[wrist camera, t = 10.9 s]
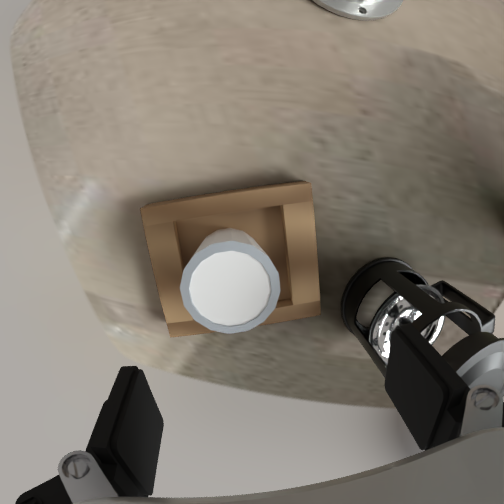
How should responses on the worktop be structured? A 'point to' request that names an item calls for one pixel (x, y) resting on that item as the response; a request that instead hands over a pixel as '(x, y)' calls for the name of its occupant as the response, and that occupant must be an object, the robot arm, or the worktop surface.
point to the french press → (425, 320)
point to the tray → (251, 222)
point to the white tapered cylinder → (230, 282)
